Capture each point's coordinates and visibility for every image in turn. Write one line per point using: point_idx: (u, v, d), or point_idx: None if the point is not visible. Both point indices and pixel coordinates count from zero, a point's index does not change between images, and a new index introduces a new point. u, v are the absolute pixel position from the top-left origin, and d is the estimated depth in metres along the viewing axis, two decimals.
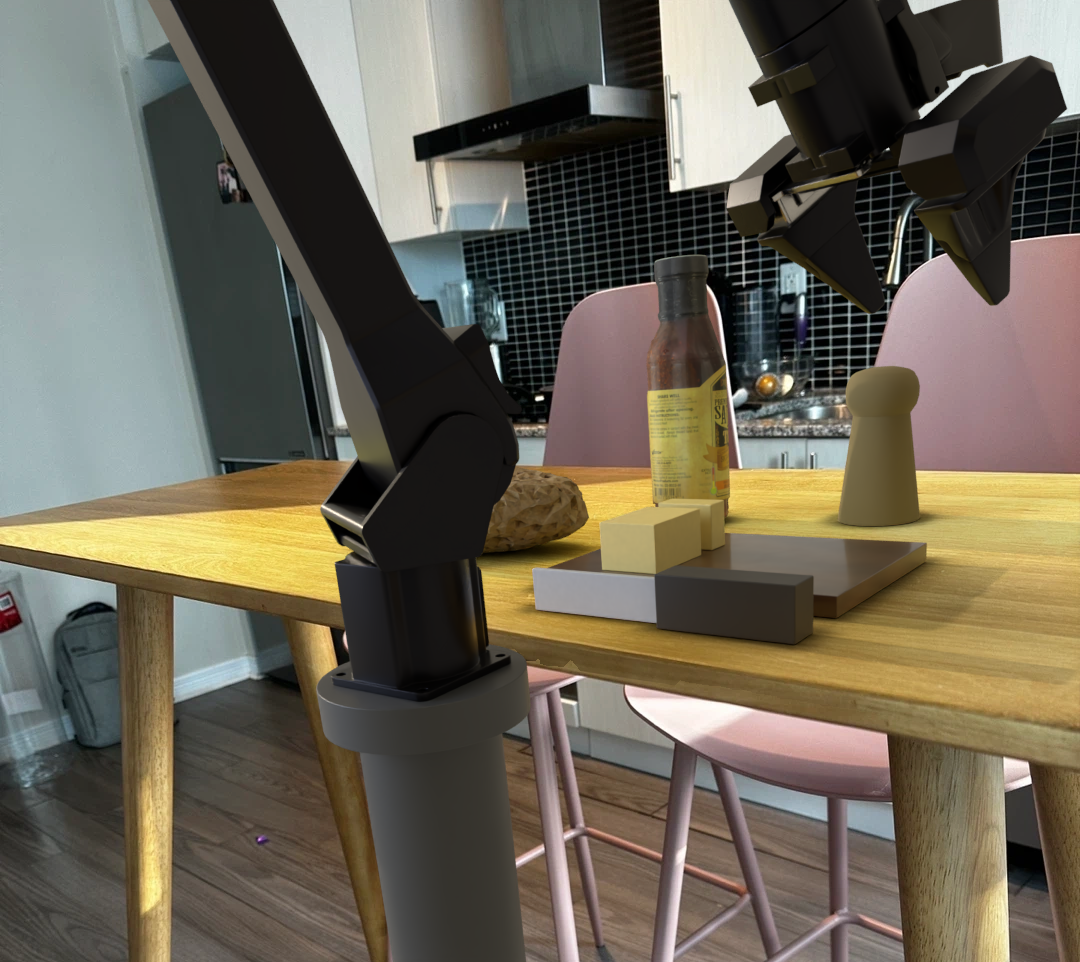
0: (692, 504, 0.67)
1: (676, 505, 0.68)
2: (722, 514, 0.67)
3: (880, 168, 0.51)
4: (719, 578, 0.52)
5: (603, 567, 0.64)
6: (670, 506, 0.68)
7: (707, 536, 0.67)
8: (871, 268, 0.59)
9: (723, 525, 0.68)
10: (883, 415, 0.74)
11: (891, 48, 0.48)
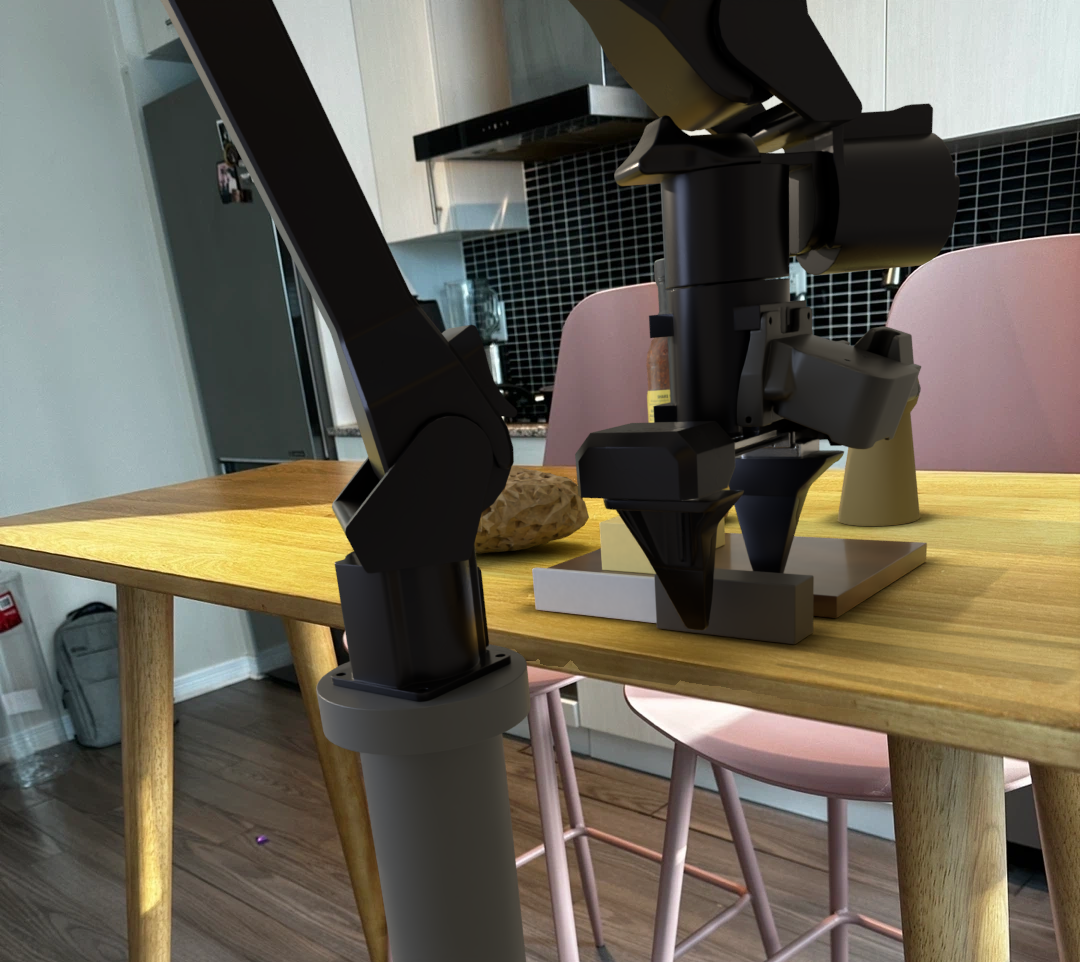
0: None
1: None
2: None
3: None
4: (719, 578, 0.52)
5: (603, 567, 0.64)
6: None
7: None
8: (779, 551, 0.55)
9: (723, 525, 0.68)
10: None
11: (727, 355, 0.46)
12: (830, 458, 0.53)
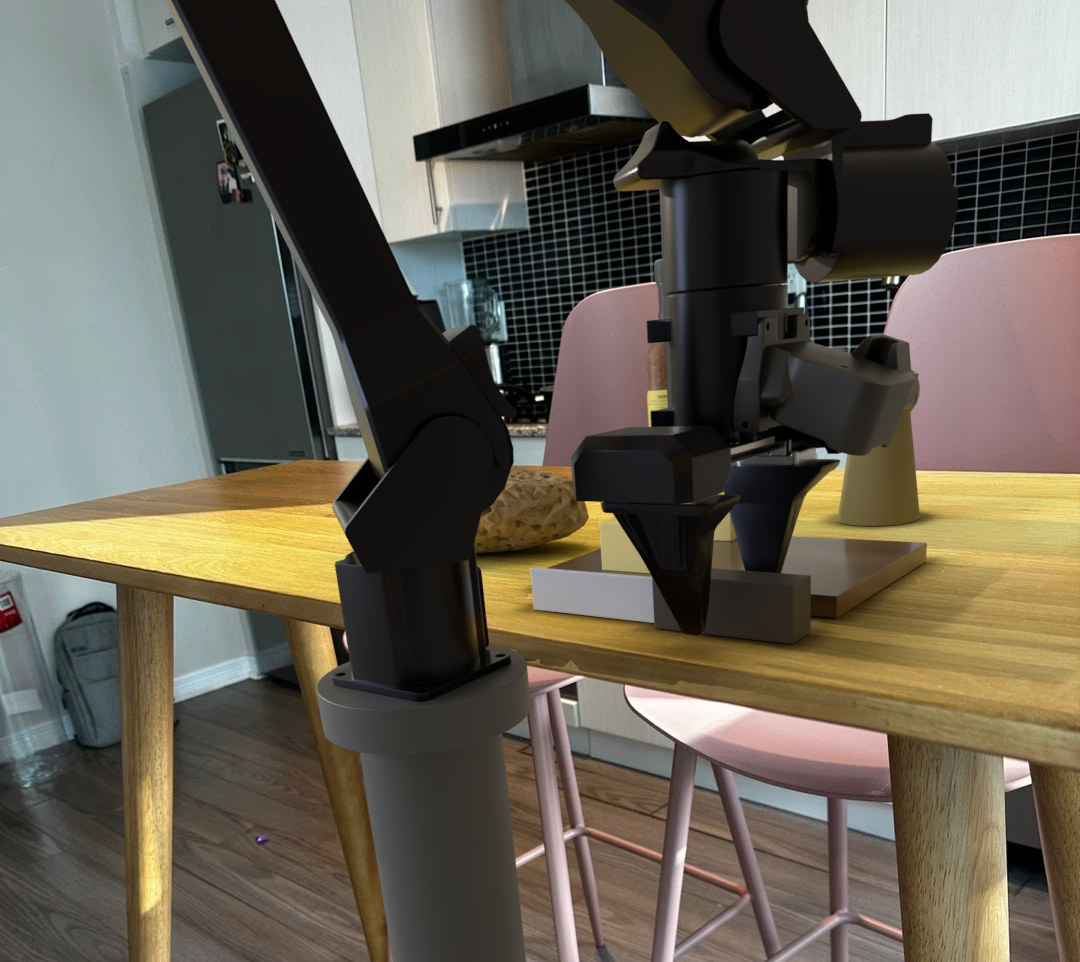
0: None
1: None
2: None
3: None
4: (716, 578, 0.52)
5: (603, 567, 0.64)
6: None
7: (726, 527, 0.69)
8: (774, 559, 0.55)
9: None
10: None
11: (725, 360, 0.46)
12: (825, 466, 0.53)
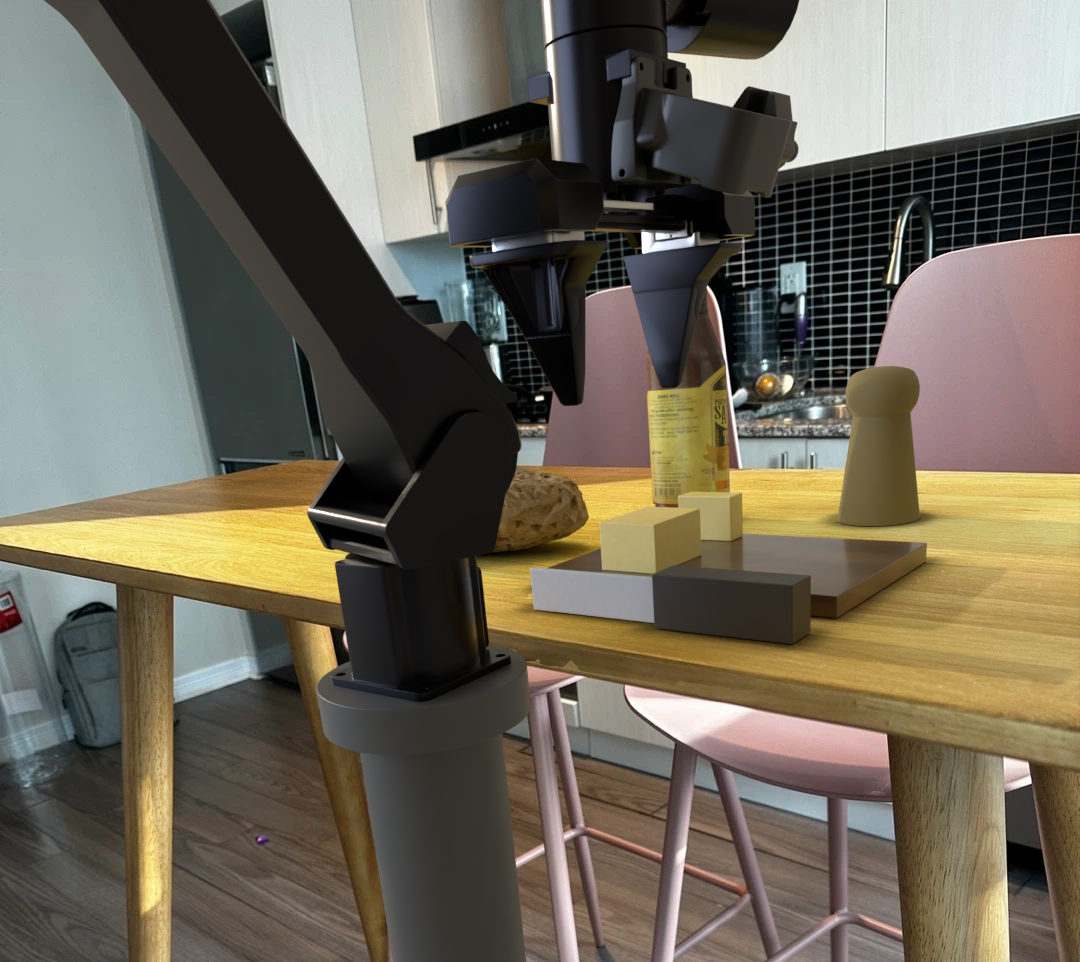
0: (712, 497, 0.69)
1: (696, 498, 0.70)
2: (740, 506, 0.70)
3: None
4: (716, 578, 0.52)
5: (603, 567, 0.64)
6: (690, 499, 0.70)
7: (726, 527, 0.69)
8: (678, 345, 0.55)
9: (741, 517, 0.70)
10: (883, 415, 0.74)
11: (601, 107, 0.46)
12: (725, 243, 0.53)
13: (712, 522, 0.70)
